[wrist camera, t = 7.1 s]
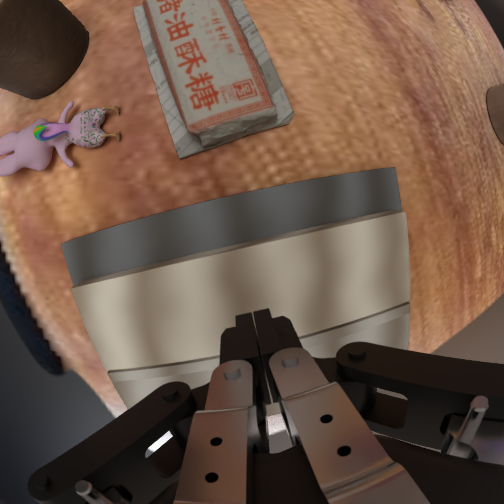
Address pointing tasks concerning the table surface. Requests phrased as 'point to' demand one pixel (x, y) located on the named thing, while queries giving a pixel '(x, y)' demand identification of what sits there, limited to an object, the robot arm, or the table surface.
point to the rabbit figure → (52, 139)
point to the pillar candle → (38, 46)
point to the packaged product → (210, 72)
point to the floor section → (235, 232)
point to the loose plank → (247, 290)
